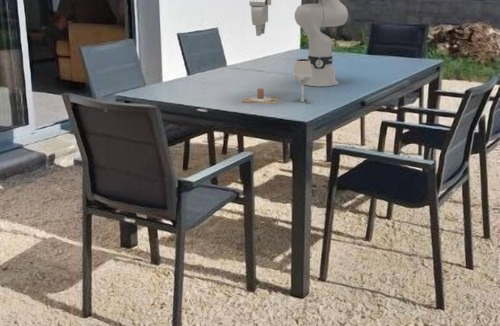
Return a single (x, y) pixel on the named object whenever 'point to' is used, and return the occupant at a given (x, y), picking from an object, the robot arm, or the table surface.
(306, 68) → the wineglass
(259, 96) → the lid
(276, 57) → the table surface
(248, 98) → the mat
